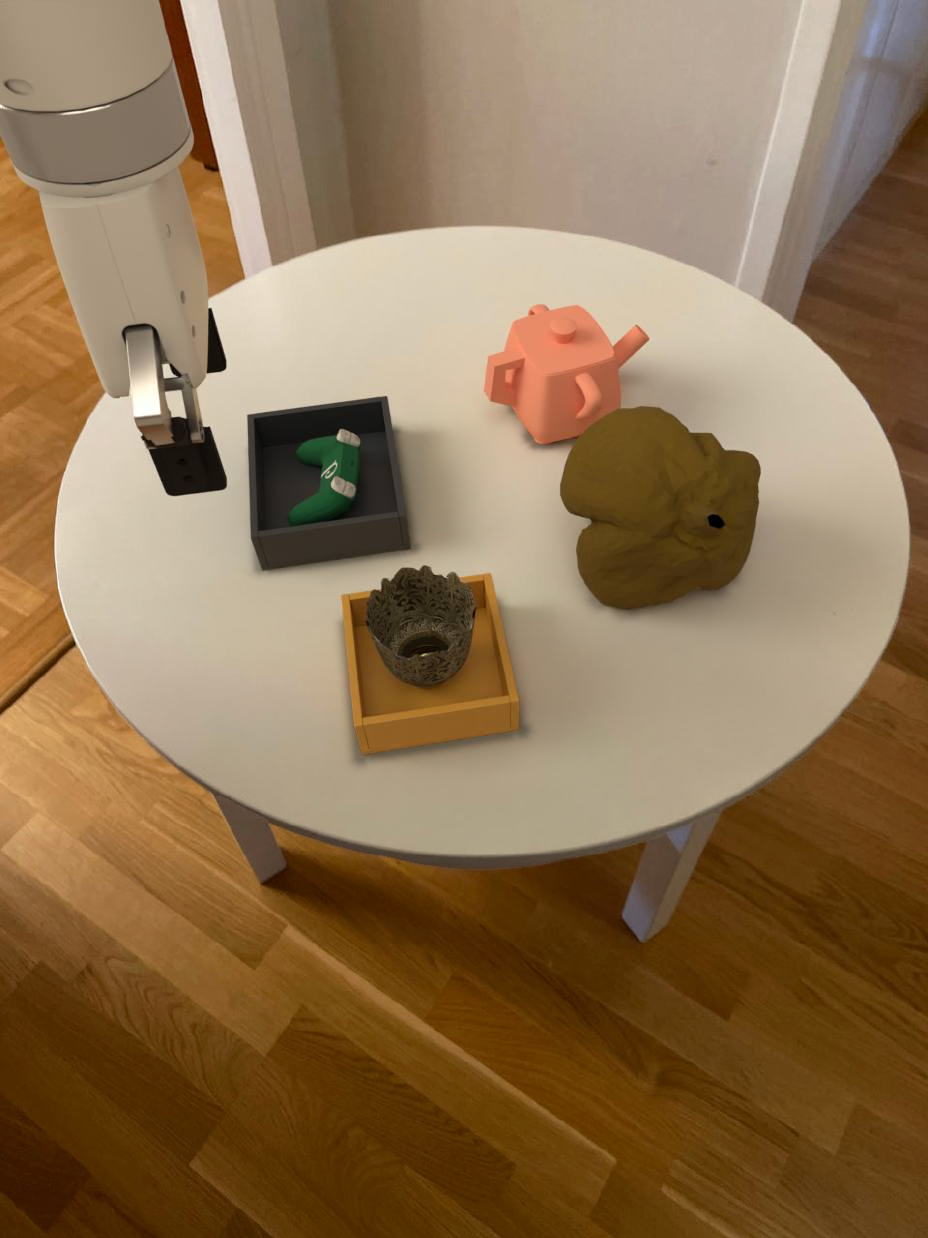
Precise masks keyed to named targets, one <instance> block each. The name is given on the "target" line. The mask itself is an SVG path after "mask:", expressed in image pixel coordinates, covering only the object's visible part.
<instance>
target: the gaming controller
mask: <svg viewBox="0 0 928 1238" xmlns="http://www.w3.org/2000/svg"><path fill="white" fill-rule="evenodd" d="M360 453H361V441H360V439H359V438H358V437H357V435H355V434H353V433H350V432H349V431H346V430H344V429H340V430H339V433H338V434H337V435H335V436H327V437H320V438H315V439H310V440H308V441H306V442H305V443H303V444H302V445H301V446H300V447H299V448H298V450H297V452H296V456H297V458H298V459H299V460H300V461H301V462H302V463H304V464H307V465H312V466H323V467H322V474H321V482H320V489H319V492H318V493H317V494H315V495H313V496H312V497H310V498H308V499H307V500H305V501H303V502H301V503H300V504H298V505H296V506H295V507H294V508H293V509H292V510H291V511H290V512H289V513H288V515H287V516H286V517H287V519H288V522H289V524H290V527H292V526H299V525H306V524H313V523H320V522H326V521H328V520H331V519H333V518H336V517H337V516H339V515H341V514H342V513H343V512H347V511H348V510H349V507H350V505H351V504H352V503H353V502H354V499H355V497H356V494H357V489H358V487H357V483H358V476H359V464H360Z"/></svg>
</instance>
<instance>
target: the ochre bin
mask: <svg viewBox="0 0 928 1238" xmlns="http://www.w3.org/2000/svg"><path fill="white" fill-rule="evenodd" d="M458 577H459V579H460V581H461V582H464V583H467V584H468V585H469V586H470V587H471V590H472V594H473V602H474V604H476V613H475V621H474V629H473V636H472V642H471V647H470V651H469V654H468V656H467V659H466V661H465V663H464V665H463V666H462V668H461V669H460V670H459V671H458V672H457V673H456V674H455V675H454V676H453V677H452V678H450V679H449V680H447V681H446V682H445V683H443V684H442V685H441V686H439V687H437V688H433V689H421V688H418V687H415V686H414V685H410V684H407V683H405V682H403V681H401V680H400V679H398V678H397V677H395V676H394V675H393V674H392V673H391V672H390V671H389V670H388V669H387V667H386V666H385V665H384V663H383V661H382V659H381V658H380V656H379V653H378V651H377V649H376V647H375V644H374V642H373V639H372V637H371V634H370V633H369V629H368V627H367V624H366V621H365V618H368V617H367V614H366V613H367V606H366V602H367V601H368V600H369V601H370V599H369V596H370V593H371V591H372V590H365V591H358V592H352V593H344V594H341V595H340V598H341V599H340V600H341V609H342V618H343V628H344V638H345V648H346V658H347V669H348V677H349V687H350V688H349V689H350V698H351V708H352V709H351V710H352V719H353V727H354V731H355V734H356V738H357V742H358V745H359V746H358V747H359V749H360V752H361V755H368V754H375V753H376V754H377V753H381V752H387V751H394V750H401V749H408V748H412V747H418V746H419V747H420V746H426V745H433V744H439V743H444V742H445V743H446V742H450V741H451V742H452V741H458V740H464V739H470V738H478V737H482V736H489V735H496V734H502V733H503V734H504V733H508V732H515V731H519V729H520V728H519V727H520V698H519V693H518V689H517V688H518V687H517V683H516V680H515V675H514V670H513V666H512V662H511V657H510V653H509V647H508V643H507V638H506V634H505V629H504V626H503V625H504V624H503V620H502V617H501V612H500V607H499V604H498V603H499V602H498V599H497V594H496V589H495V585H494V580H493V575H492V573H491V572H487V573H481V574H480V573H479V574H474V575H473V574H472V575H468V576H466V575H465V576H458ZM377 590H379V591H381V588H379V589H377Z"/></svg>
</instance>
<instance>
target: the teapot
mask: <svg viewBox="0 0 928 1238" xmlns="http://www.w3.org/2000/svg"><path fill="white" fill-rule="evenodd" d="M650 340H651V338H650V337H649V335H648V334H647V333H646V331H645V330H643V329H642V328H641V327H640V325H638V324H635V325H633V326H632V327H631V328H630V329H629V330H628V331H627V332H626V333H625V334H624V335H623V336H622V337H621V338H620V339H619V340H617V342H616V343H614V344H613V345H612V343H611V341H610V339H609V337H608V336H607V334H606V333H605V330H604V329H603V328H602V327H601V325H600V324H599V323H598V321H597V320H596V319H595V318H594V317H593V316H592V315H591V313H590V312H589V311H588V310H586V308H584V307H582V306H581V305H578V304H574V305H567V306H563V307H559V308H554V309H550V308H549V307H548V306H547V305H546V304H544V303H543V304H541V303H538V304H535V305H532V306H531V307H530V308H529V310H528V312H527V316H524V317H521V318H518V319H515V320H513V322H512V324H511V326H510V329H509V332H508V336H507V339H506V342H505V346H504V350H503V351H500V352H497V353H493V354H490V355H488V356H487V362H486V370H485V378H484V386H483V387H484V388H483V392H484V393H485V396H486V397H487V399H488V400H489V402H491V403H496V404H500V405H504V406H510V407H512V410H513V411H514V413H515V415H516V417H517V418H518V420H519V421H520V423H521V424H522V425H523V426H524V428H525V429H526V430H527V432H528V433H529V434H530V435H531V436H532V437H533V441H535V443H537V444H539V445H549V444H552V443H554V442H559V441H563V440H567V439H571V438H575V437H579V436H580V435H581V434H582V433H583V432H584V431H585V430H586V429H587V428H588V427H589V426H590V425H592V424H593V423H595V422H596V421H598V420H599V419H601V418H602V417H604V416H605V415H607V414H609V413H610V412H612V411H614V410H616V409H618V408H621V405H622V404H621V403H622V401H621V400H622V399H621V398H622V389H621V379H620V371H619V370H620V369H621V368H622V367H623V366H624V365H625V364H626V363H627V362H628V361H629V360H630V359H631V358H632V357H633V356H634V355H635V354H637V352H638V351H639V350H640V349H642V348H643V347H644V346H645V345H646V344H647V343H648V342H649V341H650Z"/></svg>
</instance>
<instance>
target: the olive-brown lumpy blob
mask: <svg viewBox="0 0 928 1238" xmlns="http://www.w3.org/2000/svg"><path fill="white" fill-rule="evenodd" d="M761 474H762V467H761V464H760V461H759V459H758V458H757V457H756V456H755V455H754V454H753V453H750V452H749V451H746V450H745V451H744V450H737V449H725V448H724V447H723V446H722V444H721V443H720V441H719V439H718V438H717V437H716V436H715V435H714V434H713V433H712V432H690V430H689V428H688V427H687V426H686V425H684V424H683V423H682V422H681V421H680V420H679V419H678V418H677V416H675V415H674V414H672V413H669V412H668V411H666V410H664V409H662V408H661V407H660V406H646V405H645V406H644V405H640V406H635V407H633V408H632V407H631V408H629V407H628V408H627V407H625V408H623V407H620V408H618V409H616V410H614V411H612V412H610V413H609V414H607V415H605V416H604V417H602V418H601V419H599V420H598V421H596V422H595V423H593V424H592V425H590V426H589V427H588V428H587V429H586V430H585V431H584V432H583V433H582V434H581V435H579V436H578V437H577V439H576V440H575V441H574V442H573V445H572V446H571V448H570V450H569V452H568V455H567V458H566V460H565V463H564V467H563V471H562V475H561V479H560V483H559V496H560V499H561V501H562V504H563V506H564V508H565V510H566V511H567V512H568V513H569V514H571V515H574V516H577V517H580V518H583V519H587V520H590V523H589V524H588V526H586V527H585V528H582V529H581V531H580V534H579V535H578V537H577V542H576V546H575V547H576V548H575V552H576V553H575V554H576V563H577V569H578V573H579V576H580V577H581V580H582V581H583V583H584V585H585V586H586V587H587V589H588V590H589V591H590V593H591V594H592V595H593V596H594V597H595V598H596V599H597V601H599V603H600V604H601V605H604V606H605V607H609V608H614V609H618V610H626V611H627V610H628V611H629V610H638V609H644V608H645V609H646V608H651V607H655V606H660V605H661V606H662V605H666V604H670V603H673V602H675V601H677V600H678V599H681V598H683V597H685V596H687V595H689V594H690V593H692V592H693V591H695V590H698V589H700V590H703V591H717V590H720V589H722V588H725V587H726V586H727V585H728V584H730V583H731V582H732V581H734V580H735V579H736V578H737V576H738V575H739V574H740V573H741V571H742V570H743V568H744V566H745V565H746V562H747V560H748V559H749V558H748V557H749V555H750V553H751V549H752V545H753V541H754V536H755V530H756V526H757V515H758V513H759V510H758V509H759V506H760V498H759V494H760V489H759V488H760V487H759V483H760V479H761V476H762V475H761Z"/></svg>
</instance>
